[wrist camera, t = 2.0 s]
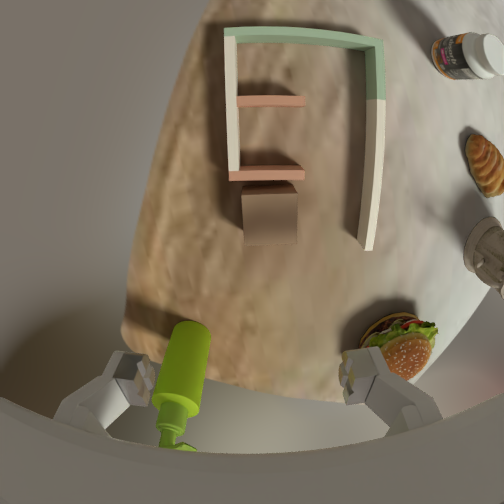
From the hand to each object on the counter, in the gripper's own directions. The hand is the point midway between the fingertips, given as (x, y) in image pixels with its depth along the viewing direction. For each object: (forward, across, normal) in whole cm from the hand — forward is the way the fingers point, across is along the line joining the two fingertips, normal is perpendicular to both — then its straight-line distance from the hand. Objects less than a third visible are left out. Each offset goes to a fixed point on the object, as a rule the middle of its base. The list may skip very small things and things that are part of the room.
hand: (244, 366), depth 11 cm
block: (+23, -2, 0) cm, 23 cm away
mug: (+23, -35, +6) cm, 42 cm away
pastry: (+23, -33, -7) cm, 41 cm away
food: (+24, -23, +22) cm, 40 cm away
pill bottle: (+22, -25, -20) cm, 40 cm away
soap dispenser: (+24, +9, +19) cm, 32 cm away
